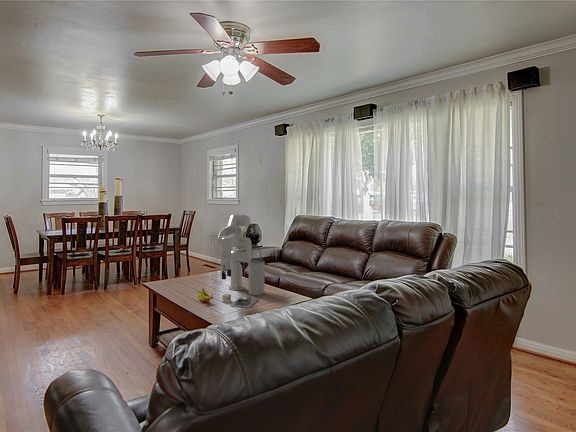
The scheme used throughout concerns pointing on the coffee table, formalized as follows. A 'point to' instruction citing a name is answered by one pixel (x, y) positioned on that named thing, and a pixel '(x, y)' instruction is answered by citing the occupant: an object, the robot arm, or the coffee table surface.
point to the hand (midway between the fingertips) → (226, 277)
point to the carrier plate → (244, 302)
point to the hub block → (226, 298)
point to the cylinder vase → (256, 277)
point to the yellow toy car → (204, 296)
